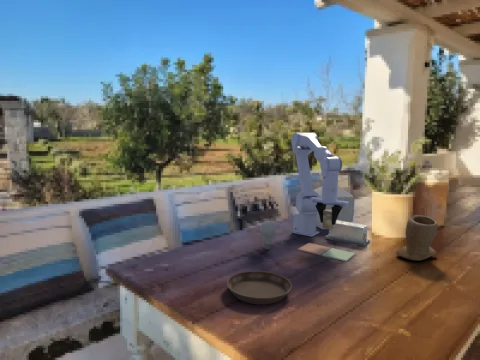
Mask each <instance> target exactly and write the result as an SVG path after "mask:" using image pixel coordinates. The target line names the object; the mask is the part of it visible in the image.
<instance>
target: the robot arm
mask: <svg viewBox="0 0 480 360" xmlns="http://www.w3.org/2000/svg"><path fill="white" fill-rule="evenodd" d="M290 141H291V142H290V143H291V149H292V153H293V154H294V155H295V159H296V164H297V165H296V166H297V173H298V179H299V185H300V192H299V193H298V194H296V196H295V209H296V212H295V213H294V216H293V221H292V222H293V223H292V225H293V227H292V231H291V232H292V234H297V235H302V236H306V237H314V236H316V235H319V234H320V231H318V230H317V226H316V223H317V214H319V216H320V222H321V223H323V210H325V209H326V205H334V206H333V207H331V208H332V225H335V224H336V220H337V217H338V215H339V213H340V211H341V209H342V208H343V207H345V208H347V207H348V206H349V202H346V201H341V200H337V191H338V187H339V173H340V172H341V171H342V168H343V160H342V158H341V157H340V156H338V155H337V156H336V155H334V154H332V152H331V151H330V149H328V147H327V146H322V145H321V143H319V141H318V135H317V134H316V133H315V132H314V131H313V132H297V131H294V132H293V134H292V135H291V140H290ZM312 152H313V155H314V158H315V159H316V161H317V162H318V163H319V167H320V171H321V173H320V174H321V176H322V181H321V182H322V185H321V186H322V198H320V197H319V194H318V193H317V192H315V191H314V187H313V181H312V176H311V174H312V173H311V168H310V163H309V155H310V154H312Z"/></svg>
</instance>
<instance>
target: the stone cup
mask: <svg viewBox="0 0 480 360" xmlns="http://www.w3.org/2000/svg"><path fill="white" fill-rule="evenodd" d="M438 225H439V223H438V222H437V221H436V219H433V218H432V217H430V216H427V215H421V214H420V215H419V214H415V215H413V216H411V217H409V218H408V220H407V223H406V227H405V238H406V245H404V246H403V247H400V248H397V249H396V250H395V254H396V255H398V256H399V257H401V258H404V259H406V260H410V261H417V262H419V261H424V260H426V259H429V258H431V257H432V256H434V255H436V254H437V251H436V250H435V249H433V247H431V245H432V242H433V241H434V239H435V238H436V235H437V233H438V228H439V227H438Z"/></svg>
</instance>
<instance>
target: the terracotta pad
mask: <svg viewBox="0 0 480 360" xmlns="http://www.w3.org/2000/svg"><path fill="white" fill-rule="evenodd" d="M331 248H332V247H329V246H325V245H320V244H315V243H312V242H308V243H306V244H304V245H302V246H301V247H298V248H297V250H298V251H300V252H305V253H308V254H309V253H310V254H312V255H318V256H322V254H323V253H325V252H326V251H328V250H330V249H331Z"/></svg>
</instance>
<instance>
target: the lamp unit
mask: <svg viewBox="0 0 480 360" xmlns="http://www.w3.org/2000/svg"><path fill="white" fill-rule="evenodd" d="M367 237H368V225H366V224H363V223H362V224H361V223H355V222H353V223H351V222H345V221H339V220H336V224H335V225H333V228H332V229H328V234H327V235H325V236H324V238H325V239H326V240H331V241H335V242H340V243H344V244H345V243H346V244H350V245H355V246H359V247H365V246H367V245H368V244H369V243H370V241H371V239H367Z"/></svg>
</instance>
